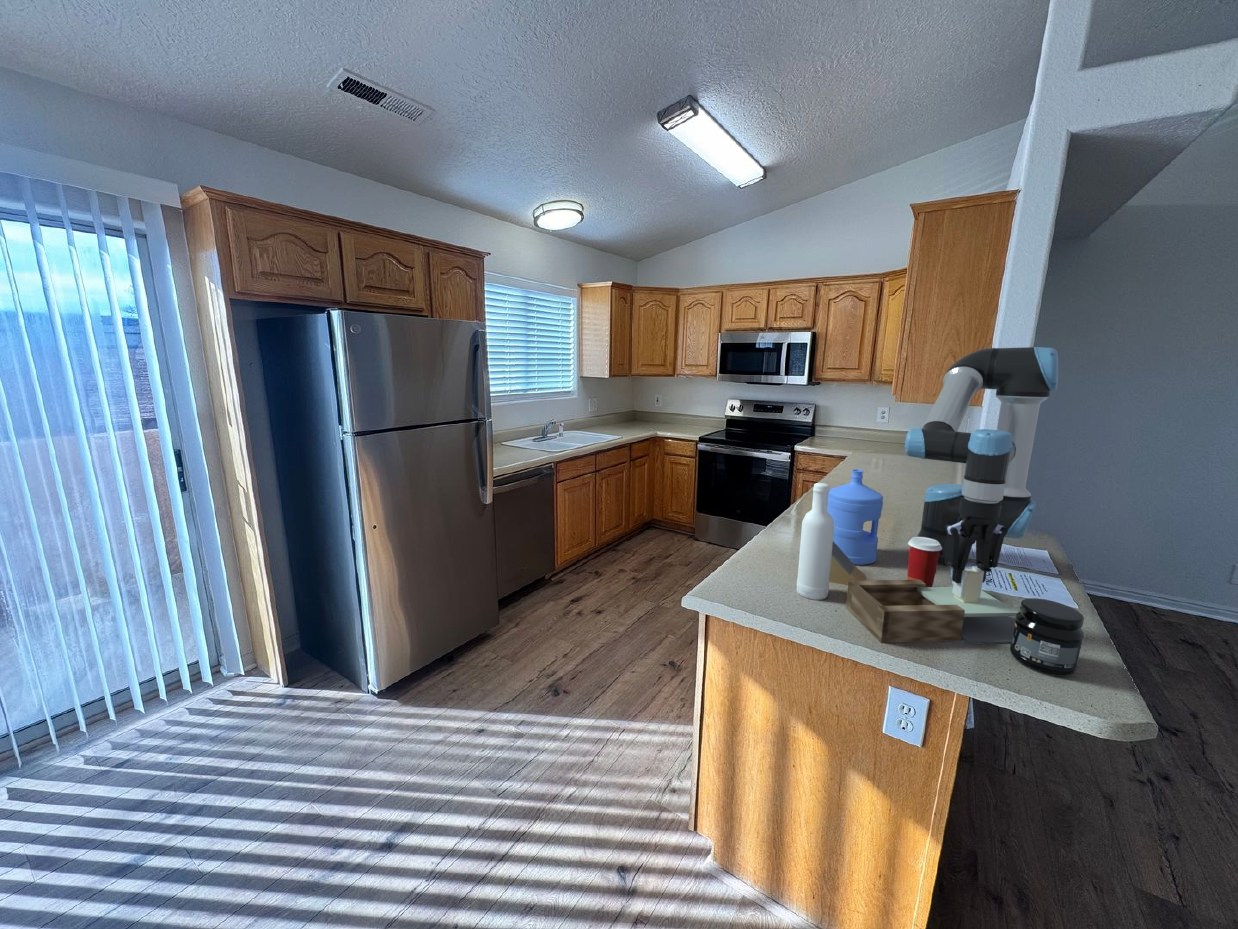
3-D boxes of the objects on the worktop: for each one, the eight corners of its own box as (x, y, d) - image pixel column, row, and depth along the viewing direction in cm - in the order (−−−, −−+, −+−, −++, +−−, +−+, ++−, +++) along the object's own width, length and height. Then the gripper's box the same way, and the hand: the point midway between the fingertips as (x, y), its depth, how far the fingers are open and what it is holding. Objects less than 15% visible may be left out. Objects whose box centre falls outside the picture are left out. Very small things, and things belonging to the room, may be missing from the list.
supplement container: (1043, 647, 105) (1053, 596, 103) (1091, 678, 95) (1103, 622, 92) (995, 648, 105) (1005, 596, 102) (1038, 679, 95) (1050, 622, 92)
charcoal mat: (984, 603, 125) (984, 601, 125) (1047, 642, 107) (1047, 640, 107) (915, 604, 124) (916, 602, 124) (968, 644, 106) (968, 642, 106)
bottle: (834, 595, 128) (845, 485, 122) (815, 603, 124) (825, 489, 118) (808, 584, 135) (817, 479, 129) (789, 591, 131) (798, 483, 125)
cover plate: (974, 589, 121) (979, 560, 120) (1018, 616, 108) (1024, 583, 107) (916, 590, 121) (920, 560, 119) (953, 617, 108) (958, 584, 106)
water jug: (822, 561, 151) (830, 473, 145) (822, 544, 165) (829, 463, 160) (878, 569, 145) (889, 478, 140) (873, 551, 159) (883, 467, 154)
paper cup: (931, 585, 134) (938, 538, 132) (939, 598, 127) (946, 547, 124) (899, 581, 137) (905, 534, 134) (905, 593, 130) (911, 544, 127)
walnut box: (915, 606, 123) (919, 579, 121) (959, 640, 108) (964, 610, 106) (845, 608, 122) (848, 580, 120) (880, 642, 107) (884, 611, 105)
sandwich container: (865, 590, 132) (871, 537, 129) (806, 577, 140) (810, 528, 137) (867, 578, 140) (873, 528, 136) (810, 567, 147) (814, 519, 144)
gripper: (1002, 494, 113) (987, 587, 118) (934, 494, 113) (921, 588, 117) (1030, 503, 106) (1012, 602, 111) (957, 503, 105) (943, 603, 110)
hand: (965, 594), depth 114 cm, fingers closed on cover plate, 3 cm apart
